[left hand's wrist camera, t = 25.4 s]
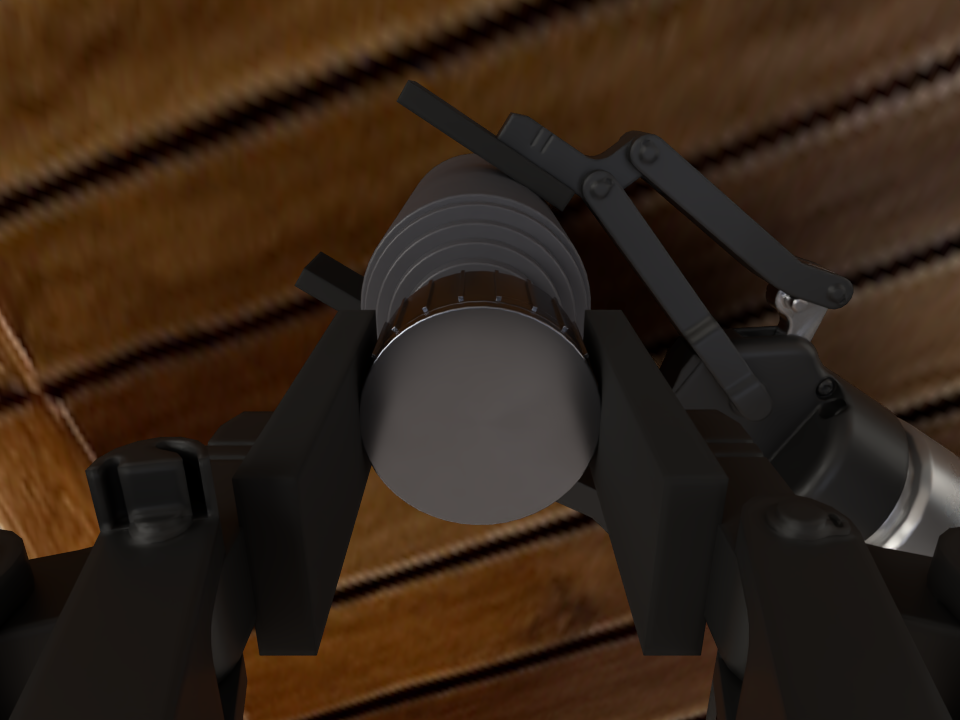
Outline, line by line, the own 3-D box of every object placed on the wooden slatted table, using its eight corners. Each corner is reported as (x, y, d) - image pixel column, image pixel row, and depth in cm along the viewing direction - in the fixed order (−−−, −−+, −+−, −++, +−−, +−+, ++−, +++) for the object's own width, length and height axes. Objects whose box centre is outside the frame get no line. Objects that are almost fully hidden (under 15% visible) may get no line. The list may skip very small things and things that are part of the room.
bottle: (485, 321, 33) (493, 566, 16) (377, 235, 31) (258, 405, 14) (576, 217, 31) (696, 368, 14) (466, 121, 29) (452, 159, 12)
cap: (565, 244, 13) (583, 276, 11) (601, 440, 15) (623, 503, 13) (348, 293, 14) (322, 334, 11) (407, 479, 15) (394, 547, 13)
